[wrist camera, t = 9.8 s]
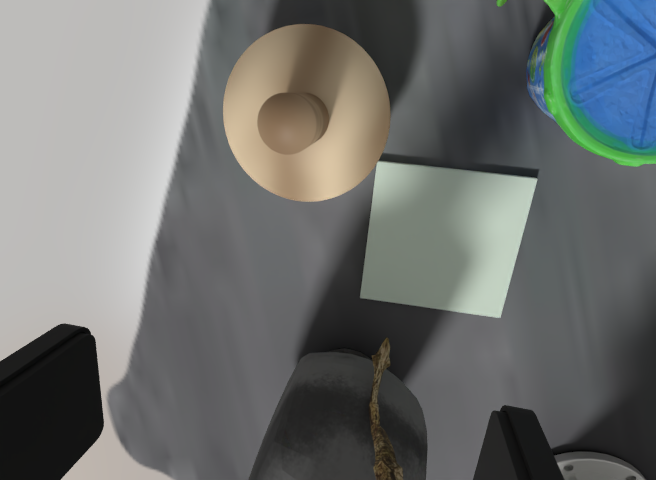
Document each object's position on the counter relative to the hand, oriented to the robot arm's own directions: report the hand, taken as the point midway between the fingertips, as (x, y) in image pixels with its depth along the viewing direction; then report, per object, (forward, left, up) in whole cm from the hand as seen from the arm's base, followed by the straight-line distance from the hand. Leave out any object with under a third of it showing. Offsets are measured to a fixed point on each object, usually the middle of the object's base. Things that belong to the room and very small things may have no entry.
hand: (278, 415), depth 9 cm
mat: (-7, +4, -26) cm, 27 cm away
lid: (+4, -5, -21) cm, 22 cm away
